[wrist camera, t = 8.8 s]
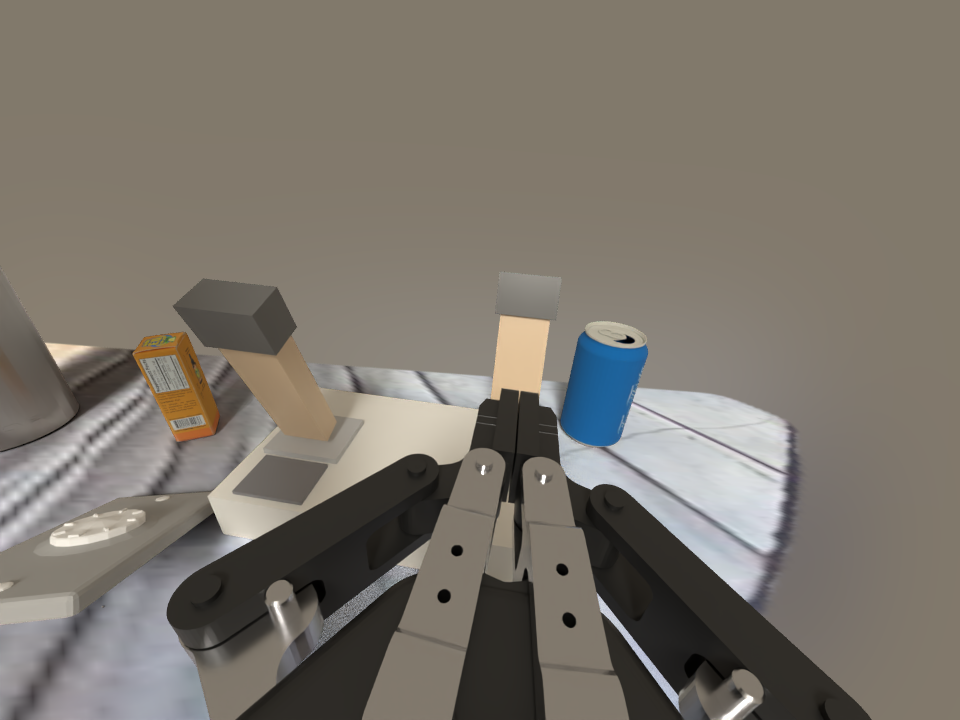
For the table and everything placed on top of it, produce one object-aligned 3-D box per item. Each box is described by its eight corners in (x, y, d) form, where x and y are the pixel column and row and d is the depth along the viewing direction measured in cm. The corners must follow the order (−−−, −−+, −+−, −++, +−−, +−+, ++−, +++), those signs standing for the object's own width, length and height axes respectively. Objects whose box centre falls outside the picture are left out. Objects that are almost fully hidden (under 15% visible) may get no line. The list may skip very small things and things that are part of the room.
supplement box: (180, 423, 37) (143, 333, 32) (221, 416, 38) (191, 329, 33) (172, 444, 34) (129, 350, 29) (215, 436, 35) (182, 345, 31)
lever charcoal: (330, 445, 28) (252, 315, 18) (278, 437, 29) (172, 306, 19) (343, 419, 30) (276, 287, 20) (293, 412, 30) (203, 278, 20)
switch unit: (550, 592, 24) (562, 551, 22) (223, 534, 27) (205, 491, 24) (546, 450, 37) (553, 415, 35) (322, 418, 39) (315, 383, 37)
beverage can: (603, 462, 36) (636, 355, 30) (548, 430, 40) (568, 330, 34) (628, 432, 40) (662, 334, 34) (577, 407, 44) (599, 314, 38)
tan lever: (536, 458, 27) (561, 277, 25) (479, 450, 28) (499, 271, 26) (535, 446, 30) (558, 280, 28) (482, 439, 30) (501, 274, 28)
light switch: (227, 479, 29) (73, 577, 16) (229, 545, 29) (75, 696, 16) (117, 486, 28) (-148, 599, 15) (119, 555, 28) (-145, 728, 15)
